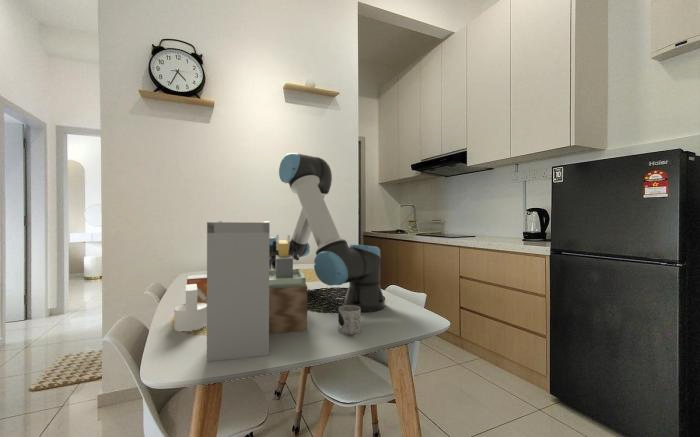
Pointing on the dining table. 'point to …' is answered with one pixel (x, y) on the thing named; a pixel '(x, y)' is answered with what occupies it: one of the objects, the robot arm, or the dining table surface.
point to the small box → (199, 286)
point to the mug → (349, 319)
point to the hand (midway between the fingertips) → (283, 238)
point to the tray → (287, 280)
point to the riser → (287, 309)
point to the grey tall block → (237, 290)
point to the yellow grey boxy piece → (284, 261)
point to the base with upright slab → (190, 312)
